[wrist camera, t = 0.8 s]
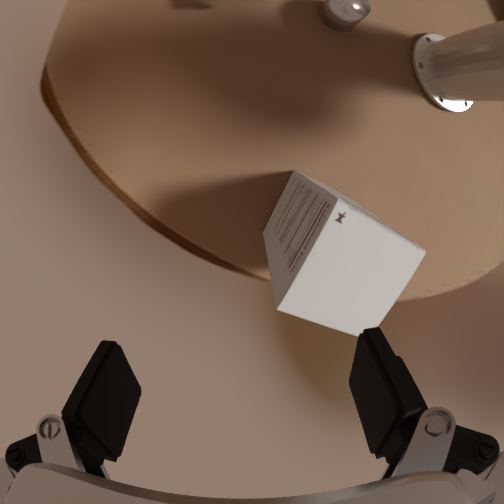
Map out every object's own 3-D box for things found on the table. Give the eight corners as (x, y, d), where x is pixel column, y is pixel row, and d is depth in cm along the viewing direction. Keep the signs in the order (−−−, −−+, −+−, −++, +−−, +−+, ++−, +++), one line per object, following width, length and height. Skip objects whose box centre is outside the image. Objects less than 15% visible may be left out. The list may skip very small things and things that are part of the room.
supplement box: (260, 233, 35) (269, 310, 20) (292, 168, 32) (333, 194, 16) (324, 261, 37) (368, 343, 21) (357, 202, 34) (430, 252, 18)
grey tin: (351, 3, 23) (364, -12, 18) (359, 32, 24) (374, 20, 20) (315, 1, 23) (324, -16, 18) (324, 30, 25) (335, 16, 20)
